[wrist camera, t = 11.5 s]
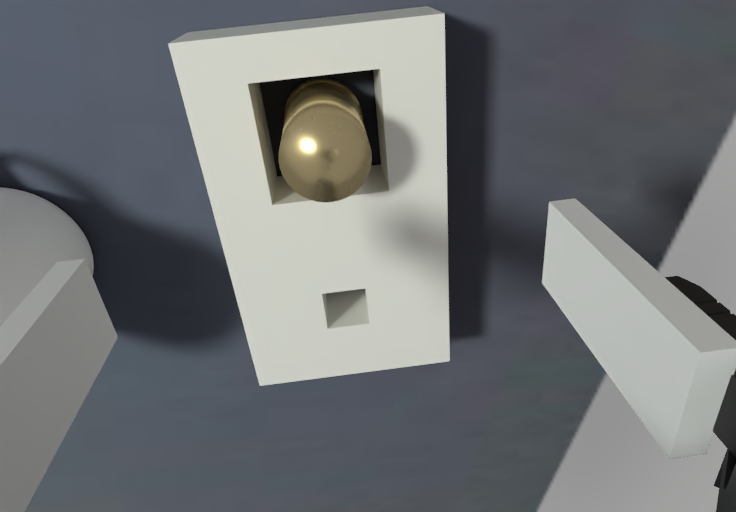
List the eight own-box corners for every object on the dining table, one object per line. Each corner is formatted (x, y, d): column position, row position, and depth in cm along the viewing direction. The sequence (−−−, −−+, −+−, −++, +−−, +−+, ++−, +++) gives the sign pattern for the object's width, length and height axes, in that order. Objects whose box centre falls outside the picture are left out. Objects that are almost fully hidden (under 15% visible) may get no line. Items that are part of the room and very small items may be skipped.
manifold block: (436, 322, 36) (449, 361, 32) (265, 344, 36) (259, 385, 32) (427, 6, 26) (444, 13, 22) (188, 32, 26) (168, 43, 22)
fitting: (364, 149, 29) (377, 198, 23) (291, 157, 29) (284, 209, 23) (357, 72, 27) (369, 105, 21) (278, 81, 27) (267, 116, 21)
